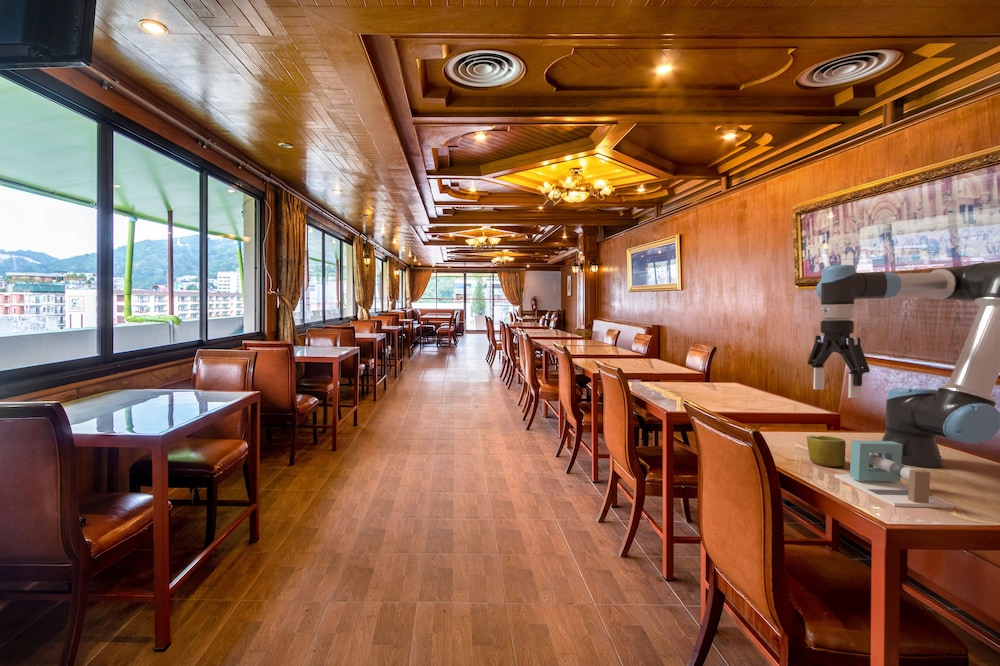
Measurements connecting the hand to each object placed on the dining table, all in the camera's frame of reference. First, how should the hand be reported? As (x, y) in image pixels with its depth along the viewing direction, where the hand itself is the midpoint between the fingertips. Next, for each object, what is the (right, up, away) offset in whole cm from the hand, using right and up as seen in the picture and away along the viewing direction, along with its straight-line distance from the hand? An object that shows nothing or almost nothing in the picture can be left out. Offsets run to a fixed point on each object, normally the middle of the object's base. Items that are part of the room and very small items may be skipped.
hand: (835, 393), depth 124 cm
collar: (+5, -22, -7) cm, 24 cm away
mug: (+4, -23, +11) cm, 26 cm away
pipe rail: (+5, -24, -12) cm, 27 cm away
